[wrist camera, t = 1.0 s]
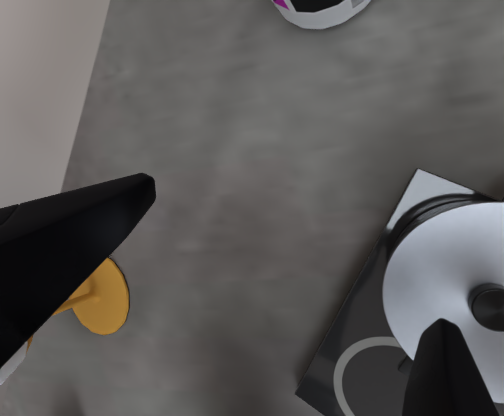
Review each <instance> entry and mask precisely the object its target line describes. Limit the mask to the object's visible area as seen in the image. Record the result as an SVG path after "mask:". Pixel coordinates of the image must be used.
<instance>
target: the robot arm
mask: <svg viewBox="0 0 504 416" xmlns="http://www.w3.org/2000/svg"><path fill="white" fill-rule="evenodd" d="M155 199H156V190H155V181H154V178H153V177H151V176H149V175H147V174H145V173H138V174H135V175H131V176H127V177H123V178H119V179H115V180H111V181H107V182H103V183H99V184H95V185H91V186H87V187H83V188H79V189H76V190H72V191H68V192H64V193H60V194H56V195H52V196H48V197H44V198H40V199H37V200H32V201H28V202H25V203H21V204H20V205H18V204H16V205H12V206H9V207H4V208H0V369H1V368H2V367H3V366H4V365H5V363H6V362H7V361H8V360H9V359H10V358H11V357H12V356H13V355H14V354H15V353H16V352H17V351H18V350H19V349H20V348H21V347H22V346H23V345H24V343H25V342H26V341H27V340H28V339H29V338H30V337H31V336H32V335H33V334H34V333H35V332H36V331H37V330H38V329H39V328H40V327H41V326H42V325H43V324H44V323H45V322H46V321H47V320H48V319H49V318H50V317H51V316H52V315H53V313H54V312H55V311H56V310H57V309H58V308H59V307H60V306H61V305H62V304H63V303H64V302H65V301H66V300H67V299H68V298H69V297H70V296H71V295H72V294H73V293H74V292H75V291H76V290H77V289H78V288H79V286H80V285H81V284H82V283H83V282H84V281H85V280H86V279H87V278H88V277H89V276H90V275H91V274H92V273H93V272H94V271H95V270H96V269H97V268H98V267H99V266H100V265H101V264H102V263H103V262H104V261H105V260H106V258H107V257H108V256H109V255H110V254H111V253H112V252H113V251H114V250H115V249H116V248H117V247H118V246H119V245H120V244H121V243H122V242H123V241H124V240H125V239H126V238H127V236H128V235H129V234H130V233H131V232H132V230H133V229H134V228H135V226H136V225H137V224H138V223H139V221H140V220H141V219H142V217H143V216H144V215H145V214H146V212H147V211H148V210H149V208H150V207H151V206H152V204H153V203H154V201H155ZM402 416H500V415H499V413H498V411H497V409H496V407H495V404H494V402H493V400H492V398H491V396H490V393H489V391H488V389H487V387H486V385H485V382H484V380H483V378H482V376H481V374H480V371H479V369H478V367H477V365H476V363H475V360H474V358H473V356H472V354H471V352H470V349H469V347H468V345H467V343H466V341H465V338H464V336H463V334H462V332H461V330H460V328H459V327H458V325H456V324H455V323H452V322H450V321H448V320H446V319H444V318H439V319H437V320H436V321H435V322H434V323H433V324H431V325H430V326H429V327H428V328H427V329H425V330H424V331H423V333H422V334H421V336H420V339H419V343H418V346H417V350H416V354H415V357H414V361H413V365H412V368H411V372H410V375H409V379H408V383H407V387H406V391H405V396H404V402H403V409H402Z"/></svg>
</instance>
